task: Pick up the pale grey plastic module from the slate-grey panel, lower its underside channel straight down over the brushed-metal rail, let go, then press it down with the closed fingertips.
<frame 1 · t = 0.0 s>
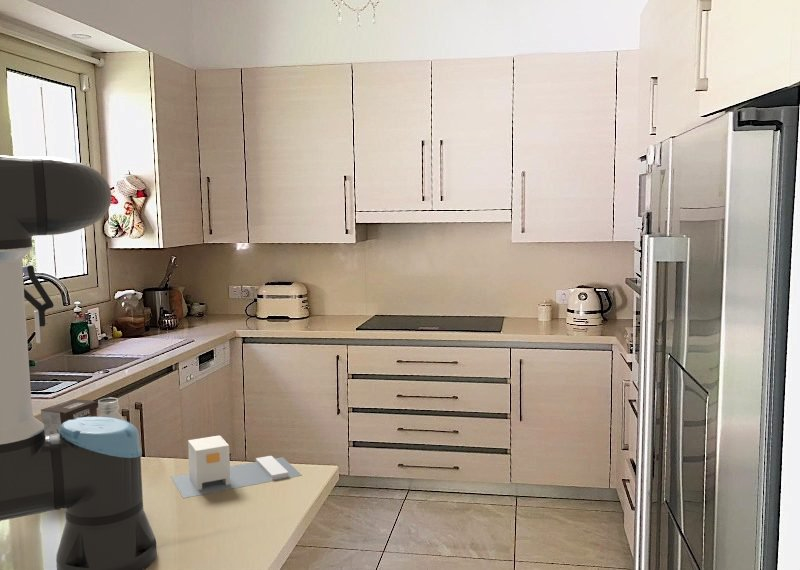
hand: (2, 345, 155), 28 cm above the counter, tool pointing down, fingers open, 13 cm apart
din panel: (236, 483, 154), on the counter
silver metal bottle: (113, 501, 145), on the counter
coffee box: (73, 481, 156), on the counter
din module: (209, 481, 151), point 1 cm above the counter, touching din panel
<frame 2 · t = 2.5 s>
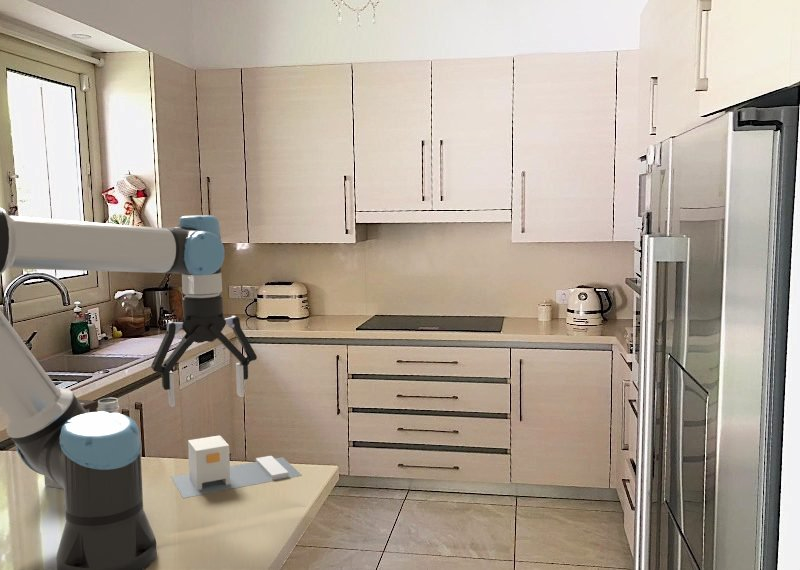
hand: (206, 400, 149), 18 cm above the counter, tool pointing down, fingers open, 13 cm apart
nothing on the counter moved.
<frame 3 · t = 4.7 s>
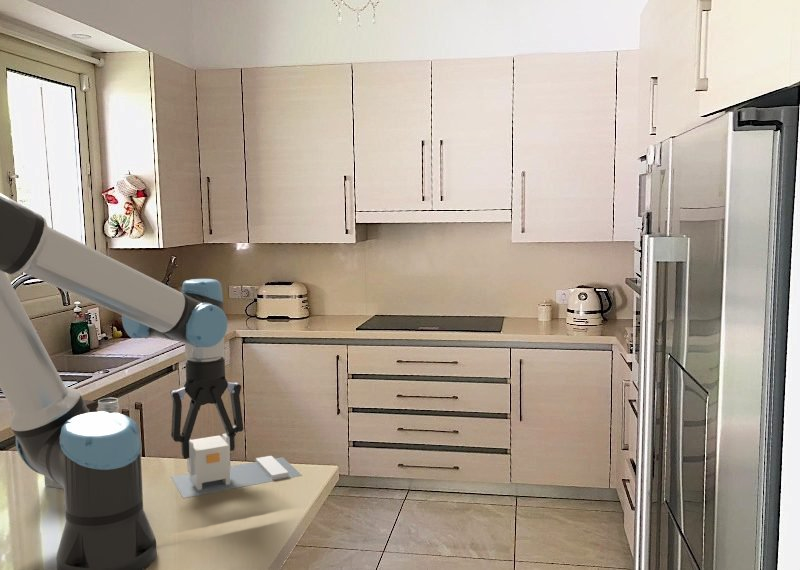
hand: (209, 469, 151), 4 cm above the counter, tool pointing down, fingers closed on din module, 6 cm apart
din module: (209, 481, 151), point 2 cm above the counter, touching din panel, gripper
everything else where it was.
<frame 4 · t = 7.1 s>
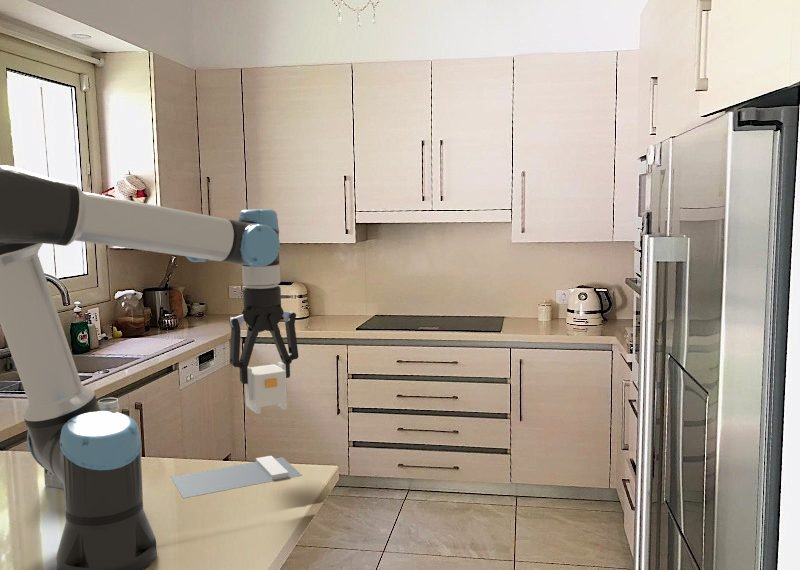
hand: (266, 395, 155), 17 cm above the counter, tool pointing down, fingers closed on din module, 6 cm apart
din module: (266, 407, 155), point 15 cm above the counter, touching gripper
everything else where it was.
when the fingers open (4 cm above the counter, at t = 9.8 s): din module stays where it is, resting on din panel.
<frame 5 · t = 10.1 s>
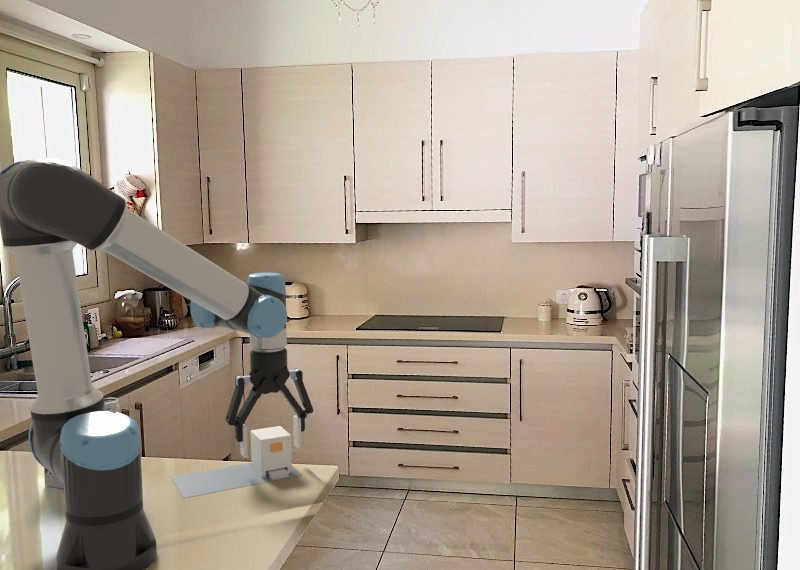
hand: (271, 451, 156), 5 cm above the counter, tool pointing down, fingers open, 11 cm apart
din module: (271, 469, 157), point 1 cm above the counter, touching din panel
everything else where it was.
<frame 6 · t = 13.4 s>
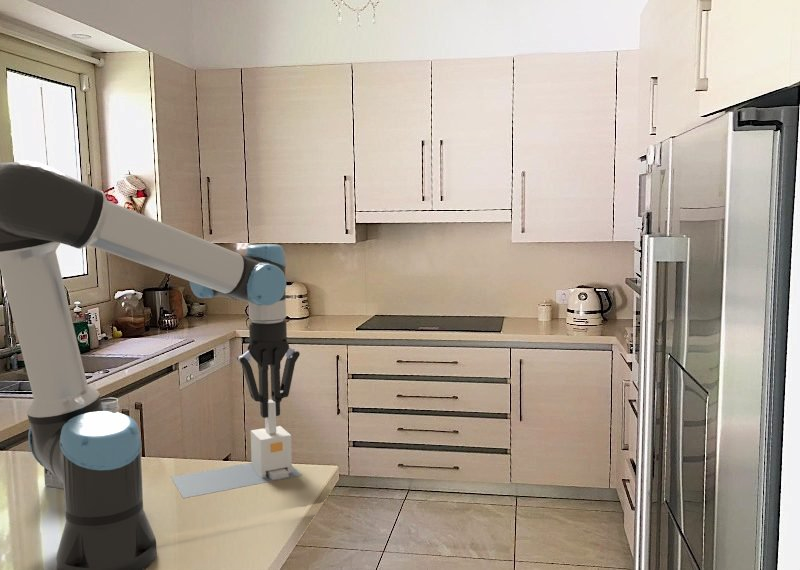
hand: (270, 431, 156), 10 cm above the counter, tool pointing down, fingers closed
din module: (271, 469, 157), point 1 cm above the counter, touching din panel, gripper
everything else where it was.
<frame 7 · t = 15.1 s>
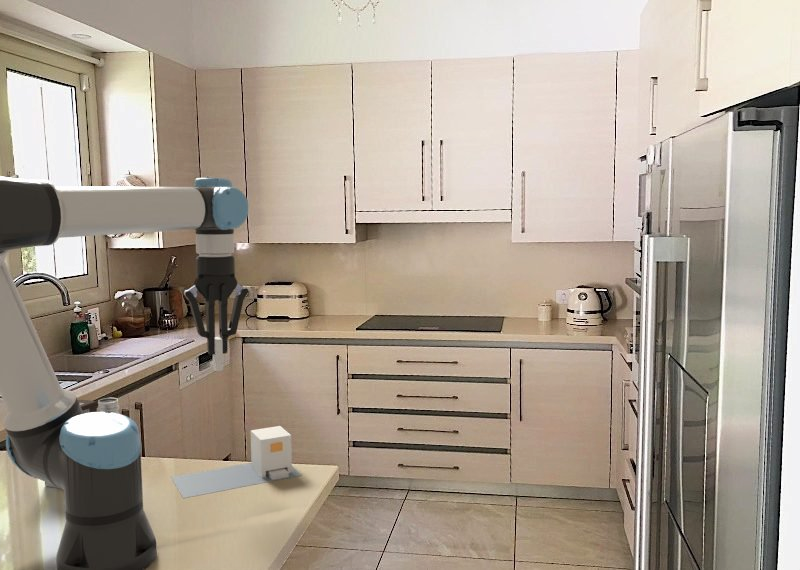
hand: (217, 369, 154), 23 cm above the counter, tool pointing down, fingers closed
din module: (271, 469, 157), point 1 cm above the counter, touching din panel
everything else where it was.
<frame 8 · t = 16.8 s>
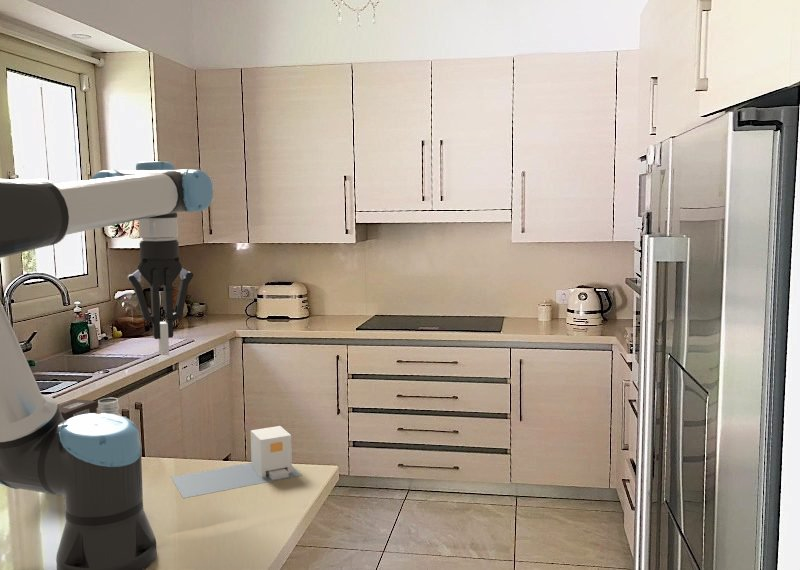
hand: (164, 353, 154), 26 cm above the counter, tool pointing down, fingers closed
nothing on the counter moved.
at the end: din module 0.0 cm from the target spot on the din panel, point 1.5 cm above the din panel's base; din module tilted 0°; the gripper is holding nothing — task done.
